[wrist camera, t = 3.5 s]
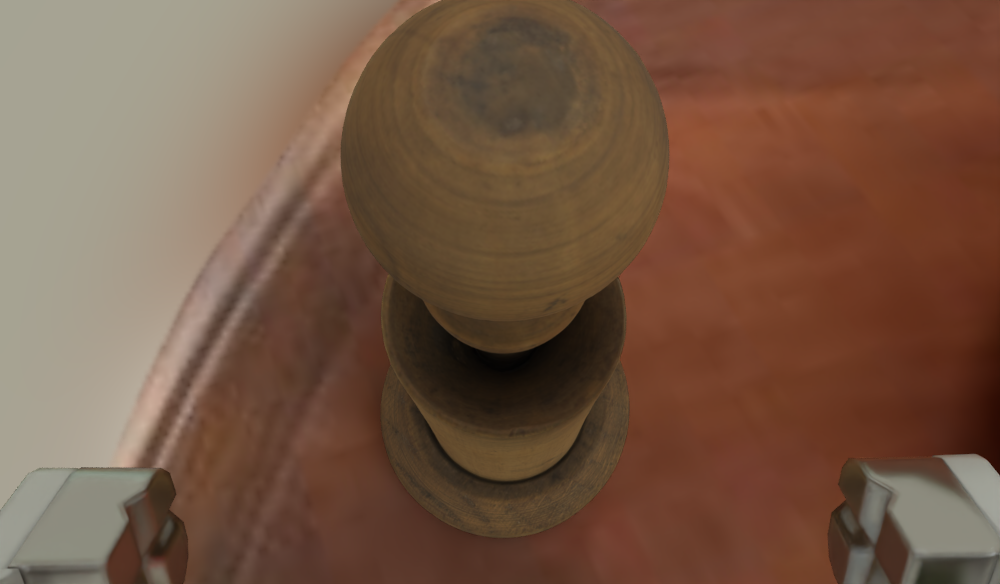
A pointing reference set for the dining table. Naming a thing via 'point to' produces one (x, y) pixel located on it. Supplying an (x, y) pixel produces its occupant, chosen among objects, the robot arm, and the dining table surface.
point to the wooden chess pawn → (504, 250)
